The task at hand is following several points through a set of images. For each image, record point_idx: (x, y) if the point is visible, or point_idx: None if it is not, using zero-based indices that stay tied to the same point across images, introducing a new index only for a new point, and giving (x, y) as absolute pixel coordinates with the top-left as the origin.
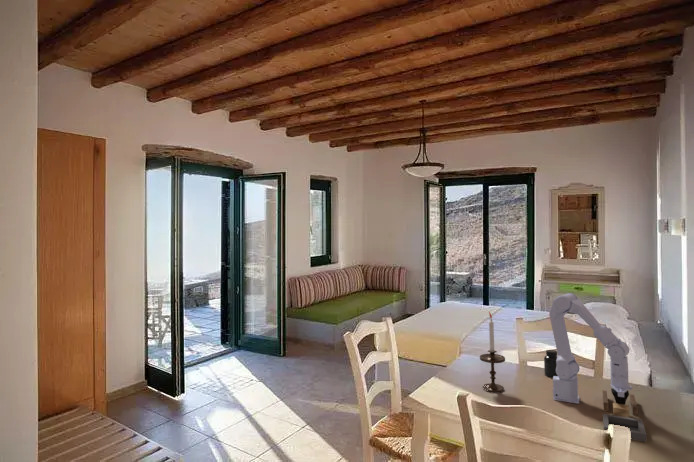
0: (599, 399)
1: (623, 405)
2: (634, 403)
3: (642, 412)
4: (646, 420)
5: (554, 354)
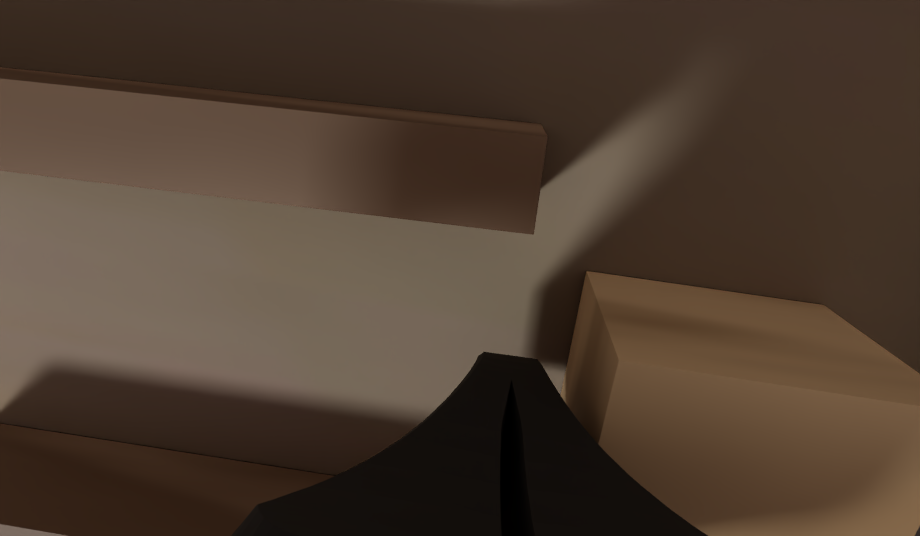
0: None
1: (675, 464)
2: (281, 152)
3: (341, 5)
4: (735, 9)
5: None
